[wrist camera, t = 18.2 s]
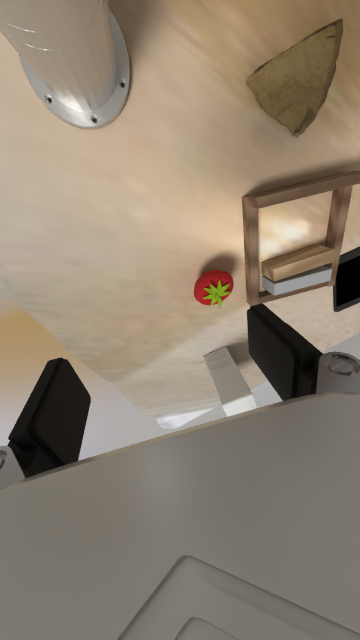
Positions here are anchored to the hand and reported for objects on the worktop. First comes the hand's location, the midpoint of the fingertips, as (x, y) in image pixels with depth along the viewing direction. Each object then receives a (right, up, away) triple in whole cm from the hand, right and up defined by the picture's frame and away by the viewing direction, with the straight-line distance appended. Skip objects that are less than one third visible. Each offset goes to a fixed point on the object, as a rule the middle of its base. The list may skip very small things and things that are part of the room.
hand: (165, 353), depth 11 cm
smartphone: (+40, +11, +40) cm, 58 cm away
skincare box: (+10, -9, +45) cm, 47 cm away
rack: (+23, +17, +33) cm, 43 cm away
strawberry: (+6, +10, +33) cm, 35 cm away
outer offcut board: (+24, +12, +36) cm, 45 cm away
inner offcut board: (+23, +14, +35) cm, 44 cm away
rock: (+16, +34, +22) cm, 43 cm away
